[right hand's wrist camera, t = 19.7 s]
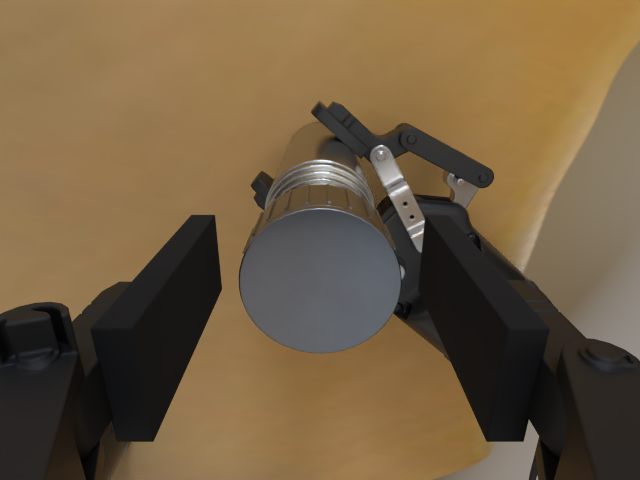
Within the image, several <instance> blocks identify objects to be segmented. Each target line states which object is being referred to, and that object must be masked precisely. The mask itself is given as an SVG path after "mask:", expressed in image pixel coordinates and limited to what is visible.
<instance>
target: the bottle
mask: <svg viewBox="0 0 640 480" xmlns="http://www.w3.org/2000/svg"><path fill="white" fill-rule="evenodd" d="M307 184H310V185H317V184H321V185H327V184H330V185H332V186H338V187H341V188H344V189H346V188H348V190H349V191H351V192H354V193H356V194H357V195H359V196H360V197H364V198H365V200H366V201H367V202H368V203H369V204H370V205H371V206H372V207H373V208H374V209H375V210H376V205H375V200H374V197H373V194H372V192H371V189H370V187H369V185H368V182H367V180H366V178H365V175H364V173H363V171H362V168H361V166H360V164H359V161H358V159H357V157H356V154H355V153H354V152H353V151H352V150H351V149H350V148H349V147H348V146H347V145H345V144H344V143H343V142H342V141H341V140H340V139H339V138H338V137H336V136H335V135H334V134H333V133H332V132H331V131H330V130H329V129H328V128H327V127H326V126H324V125H323V124H322V123H321V122H314V123H310V124H308V125H305V126H304V127H302V128H301V129H299V130H298V131H297V132H296V133H295V134H294V136H293V137H292V139H291V141H290V143H289V145H288V148H287V150H286V153H285V155H284V157H283V160H282V162H281V164H280V167H279V169H278V171H277V174H276V176H275V178H274V181H273V183H272V185H271V188H270V190H269V192H268V195H267V198H266V202H265V210H266V209H267V207H268V206H269V205H270V204H271V203H272V201H273V200H274V199H275V200H276V199H277V198H279V197H280V196H282V195H283V194H285V193H287V192H289V190H290V189H291V190H294V189H296V188H299V187H303V186H307ZM265 210H264V211H265Z"/></svg>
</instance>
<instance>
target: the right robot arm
mask: <svg viewBox="0 0 640 480" xmlns="http://www.w3.org/2000/svg"><path fill="white" fill-rule="evenodd" d="M221 290H222V284H221V274H220V264H219V253H218V243H217V233H216V222H215V215H191V216H190V217H189V218H188V220H187V221H186V222H185V223H184V224H183V225H182V226H181V227H180V229H179V230H178V231H177V232H176V233H175V234H174V235H173V236H172V237H171V239H170V240H169V241H168V242H167V243H166V244H165V245H164V246H163V248H162V249H161V250H160V251H159V252H158V253H157V254H156V255H155V257H154V258H153V259H152V260H151V261H150V262H149V263H148V264H147V265H146V267H145V268H144V269H143V270H142V271H141V272H140V273H139V274H138V276H137V277H136V278H135V279H134V280H133V281H132V282H118V283H117V284H115V285H113V286H111V287H109V288H107V289H106V290H104V291H102V292H101V293H100V294H99V295H98V296H97V297H96V298H95V299H94V300H93V301H92V302H91V305H88V306H87V307H86V308H85V309H84V310H83V311H82V314H79V315H78V316H77V317H76V318H75V319H74V320H73V322H72V321H71V317H70V313H69V309H68V307H66V306H65V305H63V304H61V303H54V302H43V303H33V304H29V305H24V306H20V307H17V308H14V309H12V310H9V311H6V312H4V313H2V314H0V480H102V473H103V465H104V457H105V454H104V448H103V444H102V440H101V437H102V435H103V434H104V432H105V430H106V429H107V427H108V425H109V424H110V422H111V420H112V424H113V429H114V433H115V437H116V441H117V442H153V441H154V439H155V437H156V435H157V432H158V430H159V428H160V426H161V423H162V421H163V419H164V417H165V415H166V412H167V410H168V408H169V406H170V403H171V401H172V399H173V397H174V395H175V392H176V390H177V388H178V386H179V383H180V381H181V379H182V377H183V375H184V372H185V370H186V368H187V366H188V363H189V361H190V359H191V357H192V355H193V352H194V350H195V348H196V346H197V343H198V341H199V339H200V337H201V335H202V332H203V330H204V328H205V326H206V323H207V321H208V319H209V317H210V315H211V312H212V310H213V308H214V306H215V303H216V301H217V299H218V297H219V295H220V292H221ZM418 290H419V292H420V295H421V297H422V299H423V301H424V303H425V306H426V308H427V310H428V312H429V315H430V317H431V319H432V321H433V323H434V326H435V328H436V330H437V332H438V335H439V337H440V339H441V341H442V343H443V346H444V348H445V350H446V352H447V355H448V357H449V359H450V361H451V363H452V366H453V368H454V370H455V372H456V375H457V377H458V379H459V381H460V383H461V386H462V388H463V390H464V392H465V395H466V397H467V399H468V401H469V403H470V406H471V408H472V410H473V412H474V415H475V417H476V419H477V421H478V423H479V426H480V428H481V430H482V432H483V435H484V437H485V439H486V441H487V442H497V441H499V442H500V441H501V442H503V441H505V442H510V441H512V442H514V441H520V442H523V441H524V437H525V433H526V428H527V424H528V420H530V421H531V423H532V425H533V426H534V428H535V430H536V431H537V433H538V435H539V440H538V444H537V448H536V452H535V456H534V460H533V464H532V467H531V471H530V476H529V480H536V477H537V475H538V480H640V361H639V360H638V359H637V358H636V357H635V356H633V355H632V354H630V353H629V352H627V351H626V350H624V349H622V348H620V347H617V346H615V345H613V344H610V343H607V342H603V341H599V340H596V339H587V338H585V337H584V336H583V335H582V334H581V333H580V332H579V331H578V330H577V329H576V328H575V327H574V326H573V325H572V324H571V323H570V322H569V320H568V319H567V318H565V316H563V314H561V313H560V312H558V310H557V309H556V307H555V306H554V305H553V304H552V303H549V300H548V299H547V298H546V297H545V296H544V295H543V294H542V293H541V292H540V291H539V290H537V289H535V288H534V287H532V286H530V285H528V284H526V283H524V282H523V281H521V280H506V279H505V278H504V277H503V276H502V274H501V273H500V272H499V271H498V270H497V269H496V268H495V267H494V265H493V264H492V263H491V262H490V261H489V260H488V259H487V258H486V257H485V255H484V254H483V253H482V252H481V251H480V250H479V249H478V248H477V246H476V245H475V244H474V243H473V242H472V241H471V240H470V239H469V237H468V236H467V235H466V234H465V233H464V232H463V231H462V230H461V229H460V227H459V226H458V225H457V224H456V223H455V222H454V221H453V220H452V218H451V217H450V216H449V215H425V222H424V233H423V243H422V253H421V264H420V274H419V284H418Z"/></svg>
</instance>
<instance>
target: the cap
mask: <svg viewBox="0 0 640 480" xmlns="http://www.w3.org/2000/svg"><path fill="white" fill-rule="evenodd" d="M395 250H397V249H396V247H395V244H394V242H393V240H392V237H391V235H390V233H389V230H388V228H387V226H386V224H385V225H384V224H383V222H382V220H381V217H380V215H379V212H378V210H377V209H376V210H375V209H374V208H373V207H372V206H371V205H370V204H369V203H368V202H367V201H366V200H365V198H364V197H360V196H359V195H357V194H356V193H354V192H351V191H349V190H348V188H346V189H344V188H341V187H338V186H332V185H330V184H327V185H321V184H317V185H310V184H307V186H303V187H299V188H296V189H294V190H291V189H290V190H289V192H287V193H285V194H283V195H282V196H280V197H279V198H277V199H276V200H275V199H274V200H273V201H272V203H271V204H270V205H269V206H268V207H267V209H266V210H265V211H264V212H261V214H260V216H259V219H258V221H257V223H256V226H255V228H253V230H252V232H251V234H250V237H249V239H248V241H247V244H246V246H245V248H244V251H243V253H244V256H243V259H242V262H241V266H240V270H239V289H240V295H241V299H242V302H243V305H244V307H245V309H246V311H247V313H248V315H249V316H250V318H251V319H252V321H253V322H254V323H255V324H256V325H257V327H258V328H259V329H260V330H261V331H262V332H264V333H265V334H266V335H267V336H268V337H270V338H271V339H273V340H274V341H276V342H278V343H280V344H282V345H284V346H286V347H289V348H292V349H295V350H299V351H303V352H310V353H331V352H337V351H342V350H345V349H349V348H352V347H354V346H356V345H359V344H361V343H363V342H364V341H366V340H368V339H369V338H371V337H372V336H373V335H375V334H376V333H377V332H378V331H379V330H380V329H381V328H382V327H383V326H384V325H385V324H386V323H387V321H388V320H389V319H390V317H391V315H392V314H393V312H394V310H395V308H396V306H397V303H398V300H399V297H400V293H401V285H402V276H401V269H400V268H401V266H400V263H399V261H398V258H397V255H396V252H395Z"/></svg>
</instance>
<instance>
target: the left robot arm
mask: <svg viewBox="0 0 640 480" xmlns="http://www.w3.org/2000/svg"><path fill="white" fill-rule="evenodd" d="M311 113H312V114H313V115H314V116H315V117H316V118H317V119H318V120H319V121H320V122H321V123H322V124H323V125H324V126H326V127H327V128H328V129H329V130H330V131H331V132H332V133H333V134H334V135H335V136H336V137H338V138H339V139H340V140H341V141H342V142H343V143H344V144H345V145H347V146H348V147H349V148H350V149H351V150H352V151H353V152H354V153H355V154H356V155H357V156H358V157H360V158H362V157H363V156H364V157H365V158H366V159H367V160H368V161H370V162H371V163H372V165H373V167H374V169H375V171H376V173H377V175H378V176H379V178H380V180H381V182H382V184H383V186H384V188H385V190H386V192H387V194H388V196H389V197H388V196H386V197H385V198H384V199H383V200H382V201H381V202H380V203H379V204H378V206H377V208H376V209H377V210H378V212H379V215H380V217H381V220H382V222H383V224H384V225H385V224H386V226H387V228H388V230H389V233H390V235H391V237H392V240H393V242H394V244H395V247H396V249H397V250H395V252H396V255H397V258H398V261H399V263H400V266H401V268H400V269H401V276H402V285H401V293H400V297H399V300H398V303H397V306H396V308H395V310H394V312H393V313H394V314H395V315H396V316H397V317H398V318H399V319H401V320H402V321H403V322H404V323H406V324H407V325H408V326H409V327H411V328H412V329H413V330H414V331H416V332H417V333H418V334H419V335H421V336H422V337H423V338H424V339H426V340H427V341H428V342H429V343H430V344H432V345H433V346H434V347H435V348H437V349H438V350H439V351H440V352H442V353H443V354H444V356H445V357H446V358H447V359H448V360H449V361H450V359H449V357H448V355H447V352H446V350H445V348H444V346H443V343H442V341H441V339H440V337H439V335H438V332H437V330H436V328H435V326H434V323H433V321H432V319H431V317H430V315H429V312H428V310H427V308H426V306H425V303H424V301H423V299H422V297H421V295H420V292H419V290H418V284H419V274H420V264H421V253H422V243H423V233H424V222H425V215H449V216H450V217H451V218H452V220H453V221H454V222H455V223H456V224H457V225H458V226H459V227H460V229H461V230H462V231H463V232H464V233H465V234H466V235H467V236H468V237H469V239H470V240H471V241H472V242H473V243H474V244H475V245H476V246H477V248H478V249H479V250H480V251H481V252H482V253H483V254H484V255H485V257H486V258H487V259H488V260H489V261H490V262H491V263H492V264H493V265H494V267H495V268H496V269H497V270H498V271H499V272H500V273H501V274H502V276H503V277H504V278H505V279H506V280H521V281H523V282H524V283H526V284H528V285H530V286H532V287H534V288H535V289H537V290H539V288H538V287H537V285H536V284H535V283H534V282H533V281H531V280H529V279H528V278H527V277H526V276H525V275H524V274H522V273H521V272H520V271H519V270H518V269H517V268H516V267H515V266H514V265H513V264H512V263H511V262H510V261H509V260H508V259H507V258H505V257H504V256H503V255H502V254H501V253H500V252H499V251H498V250H497V249H496V248H495V247H494V246H493V245H492V244H491V243H489V242H488V241H487V240H486V239H485V238H484V237H483V236H482V235H481V234H480V233H479V232H478V231H477V230H476V229H474V228H473V227H472V225H471V223H470V220H469V215H468V212H467V210H466V207H467V206H468V204H469V203H470V201H471V200H472V198H473V197H474V195H475V194H476V192H477V191H478V189H479V188H486V187H488V186H489V185H490V184H491V183H492V182H493V179H494V173H493V171H492V170H491V169H489V168H488V167H486V166H484V165H483V164H481V163H479V162H477V161H476V160H474V159H472V158H470V157H468V156H466V155H465V154H463V153H461V152H459V151H457V150H455V149H453V148H452V147H450V146H448V145H446V144H444V143H442V142H441V141H439V140H437V139H435V138H433V137H431V136H429V135H428V134H426V133H424V132H422V131H420V130H418V129H417V128H415V127H413V126H411V125H409V124H407V123H402V124H399V125H398V126H397V127H396V128H395V129H394V130H392V131H391V132H389V133H387V134H385V135H380V136H379V135H375V134H373V133H371V132H370V131H369V130H368V129H367V128H366V127H365V126H364V125H363V124H362V123H361V122H360V121H358V120H357V119H356V118H355V117H354V116H353V115H352V114H351V113H350V112H349V111H348V110H347V109H346V108H345V107H344V106H342V105H341V104H338V103H336V102H332V103H331V104H330V106H329V107H328V108H327V107H326V106H325V105H323V104H322V103H321V102H320V101H319V102H318V103H317V105H316V106H315V107H314V108H313V109H312V111H311ZM408 151H410V152H412V153H414V154H416V155H418V156H420V157H422V158H423V159H425V160H427V161H429V162H431V163H433V164H435V165H437V166H438V167H440V168H442V169H444V170H445V171H444V173H443V181H444V182H445V183H446V184H447V185H448V186H449V187H450V190H451V194H450V197H449V198H448V197H438V196H427V195H416V194H412V192H411V190H410V188H409V186H408V184H407V182H406V180H405V179H404V177H403V175H402V173H401V171H400V169H399V167H398V165H397V163H396V161H395V159H394V158H396V157H398V156H400V155H402V154H404V153H406V152H408ZM273 181H274V179H272V178H271V177H270V176H269V175H268V174H266V173H265V172H263V171H261V172H260V173H259V174H258V176H257V177H256V178H255V179H254V181H253V182H252V184H251V187H252V188H253V190H254V191H255V192H256V194H255V196H254V199H255V201H256V203H257V205H258V206H259V207H260V208H262V209H263V210H265V202H266V198H267V195H268V192H269V190H270V188H271V185H272V183H273ZM539 291H540V292H541V293H542V294H543V295H544V296H545V297H546V295H545V294H544V293H543V292H542V291H541V290H539ZM546 298H547V297H546ZM547 299H548V298H547ZM548 300H549V299H548ZM549 303H551V301H550V300H549ZM450 362H451V361H450ZM101 440H102V444H103V448H104V454H105V457H104V465H103V473H102V480H110V479H111V477H112V475H113V473H114V471H115V469H116V467H117V465H118V463H119V461H120V459H121V458H122V457H123V455H124V454H125V452H126V450H127V448H128V446H129V443H130V442H117V441H116V437H115V433H114V429H113V424H112V420H111V422H110V424H109V425H108V427H107V429H106V430H105V432H104V434H103V435H102V437H101Z"/></svg>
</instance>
